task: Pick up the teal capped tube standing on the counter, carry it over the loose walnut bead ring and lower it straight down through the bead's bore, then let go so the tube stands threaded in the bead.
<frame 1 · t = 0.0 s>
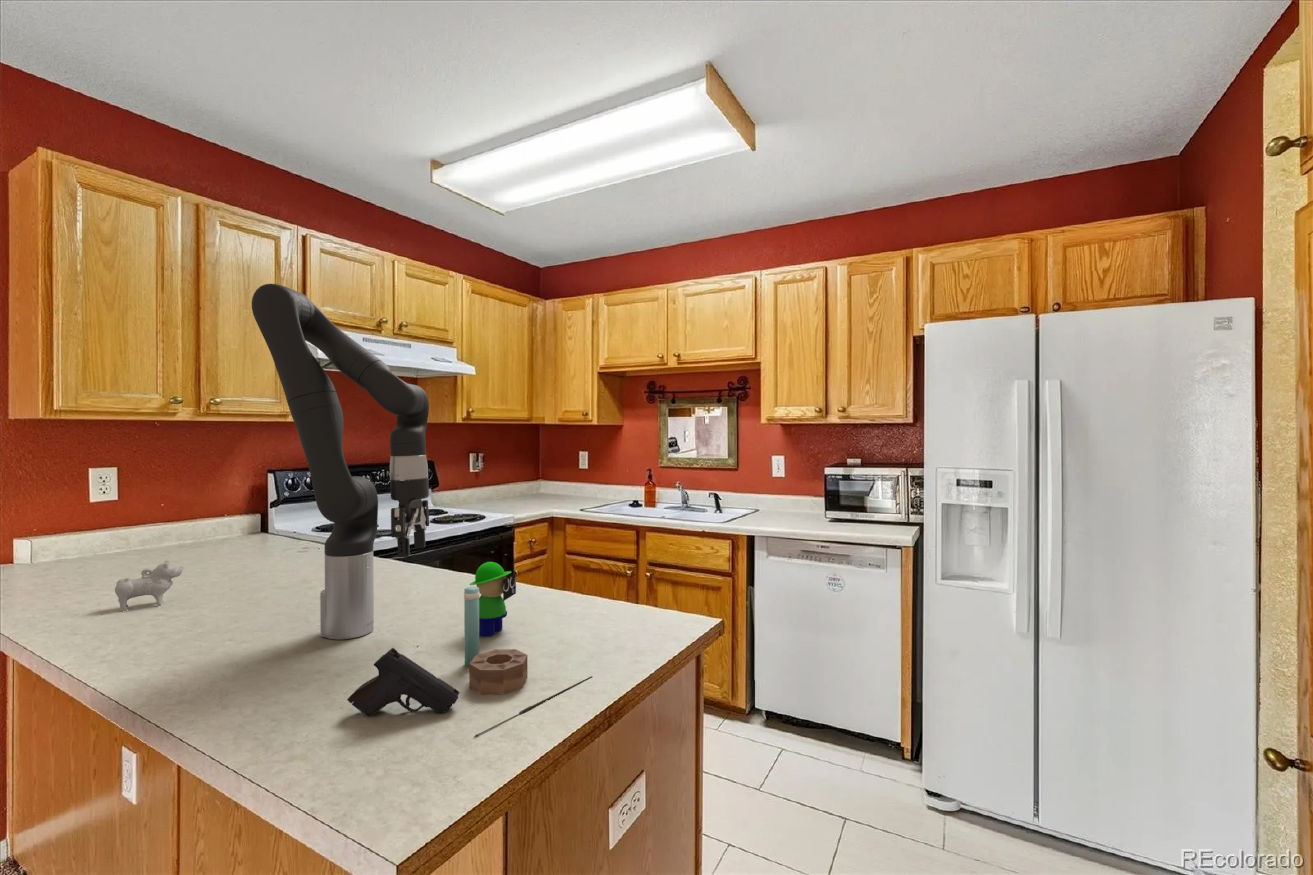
hand: (412, 552, 124), 17 cm above the counter, tool pointing down, fingers open, 8 cm apart
bead: (499, 682, 99), on the counter
toy: (490, 632, 124), on the counter
grey pig charm: (149, 606, 142), on the counter
handgun: (405, 713, 89), on the counter
paintbrush: (539, 706, 91), on the counter
teal capped tube: (471, 663, 107), on the counter
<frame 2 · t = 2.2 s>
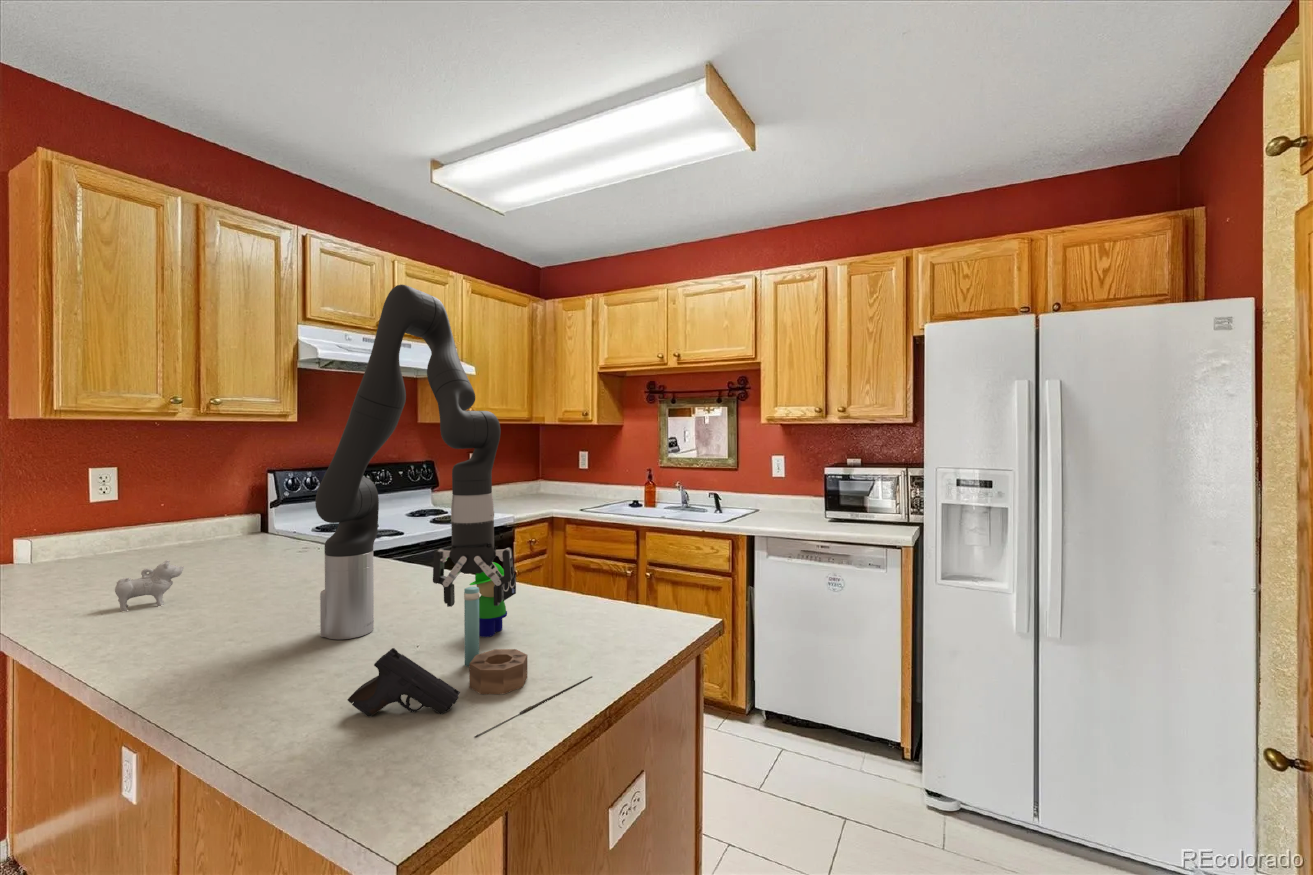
hand: (474, 605, 107), 11 cm above the counter, tool pointing down, fingers open, 8 cm apart
nothing on the counter moved.
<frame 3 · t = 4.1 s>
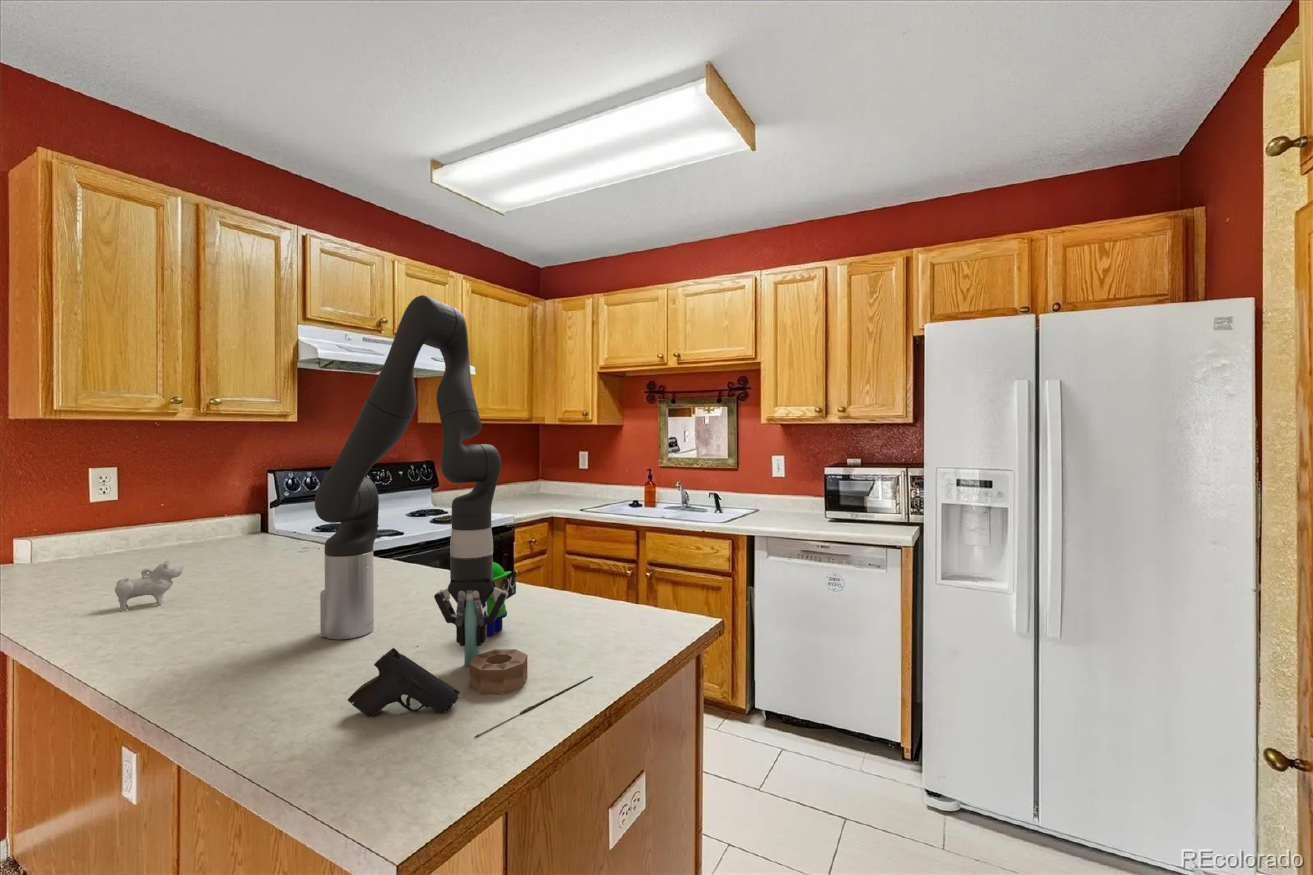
hand: (471, 644, 107), 4 cm above the counter, tool pointing down, fingers closed on teal capped tube, 2 cm apart
teal capped tube: (471, 663, 107), on the counter, touching gripper
everything else where it was.
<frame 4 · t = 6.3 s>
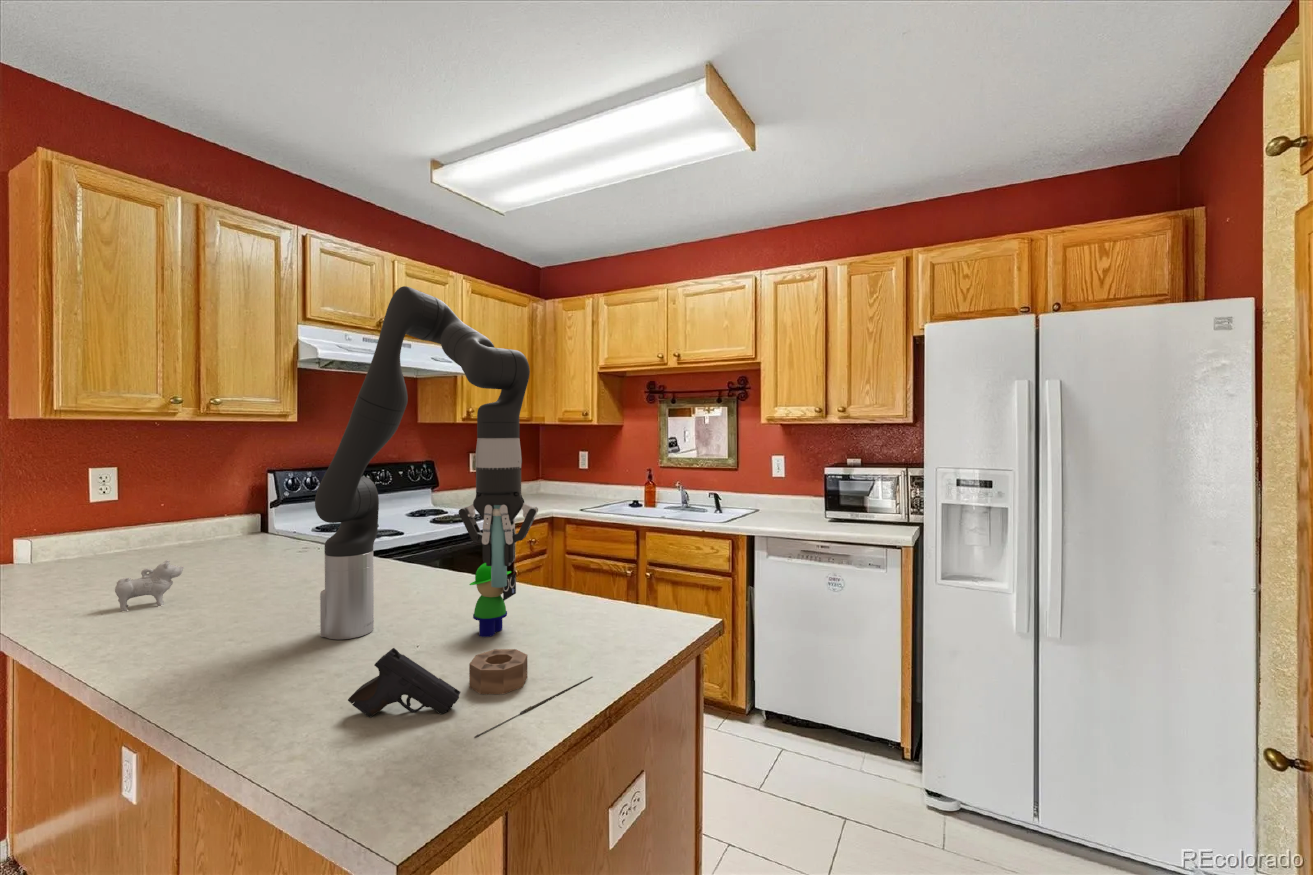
hand: (499, 564, 99), 20 cm above the counter, tool pointing down, fingers closed on teal capped tube, 2 cm apart
teal capped tube: (499, 585, 99), point 17 cm above the counter, touching gripper
everything else where it was.
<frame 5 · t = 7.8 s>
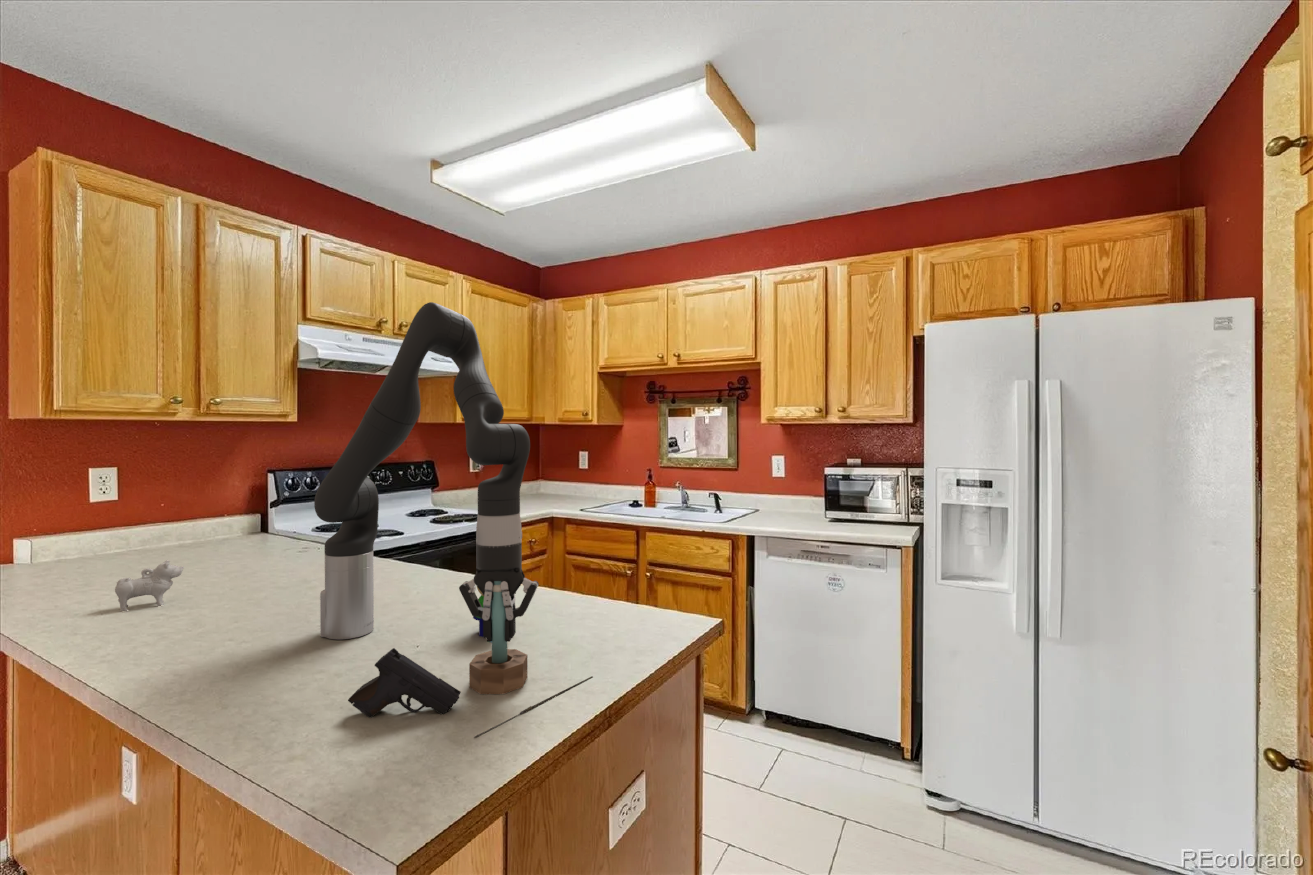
hand: (499, 639, 99), 7 cm above the counter, tool pointing down, fingers closed on teal capped tube, 2 cm apart
teal capped tube: (499, 660, 99), point 4 cm above the counter, touching gripper
everything else where it was.
when the fingers open (5 cm above the counter, at t = 8.9 s): teal capped tube stays where it is, resting in bead.
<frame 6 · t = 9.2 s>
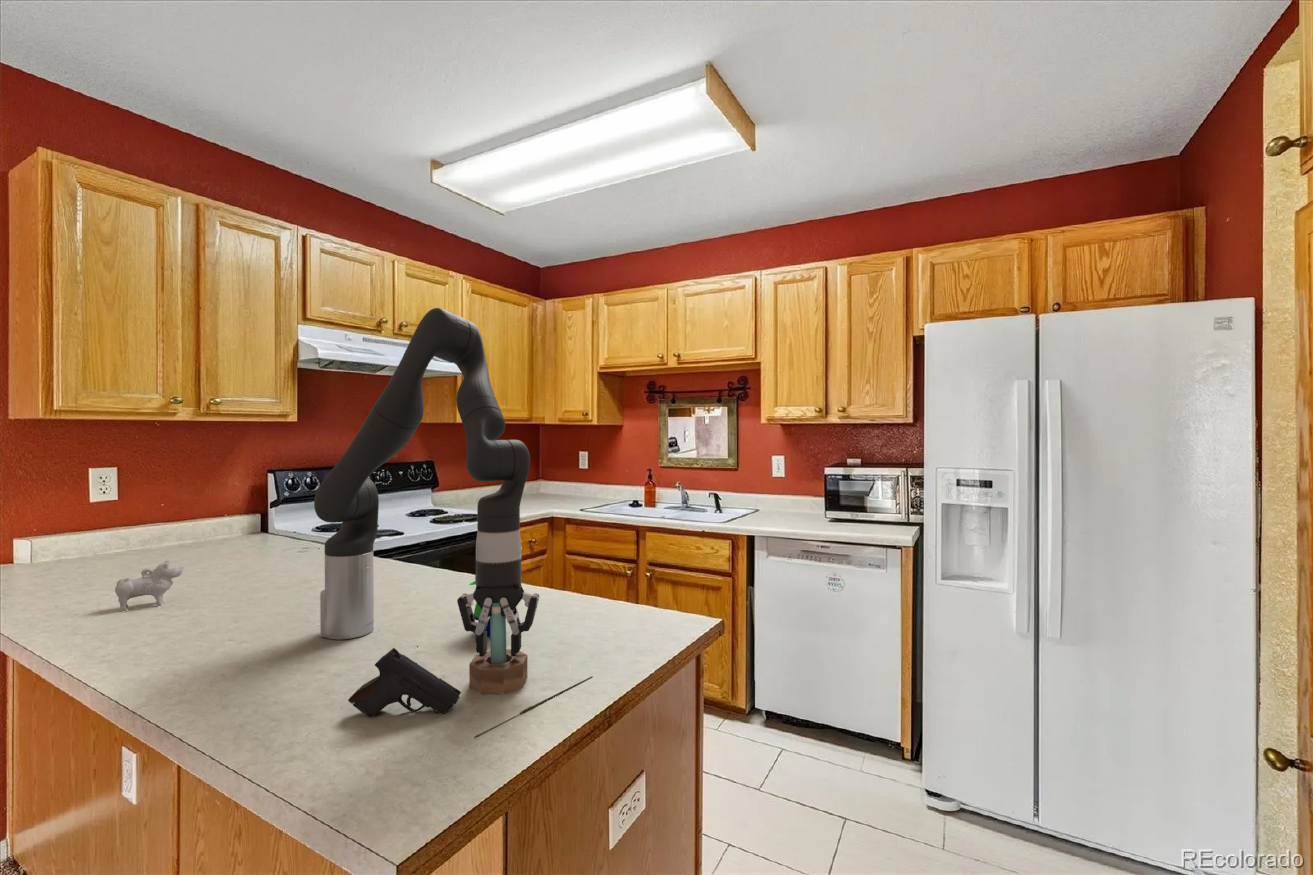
hand: (498, 654, 99), 5 cm above the counter, tool pointing down, fingers open, 4 cm apart
teal capped tube: (498, 682, 99), resting in bead
everything else where it was.
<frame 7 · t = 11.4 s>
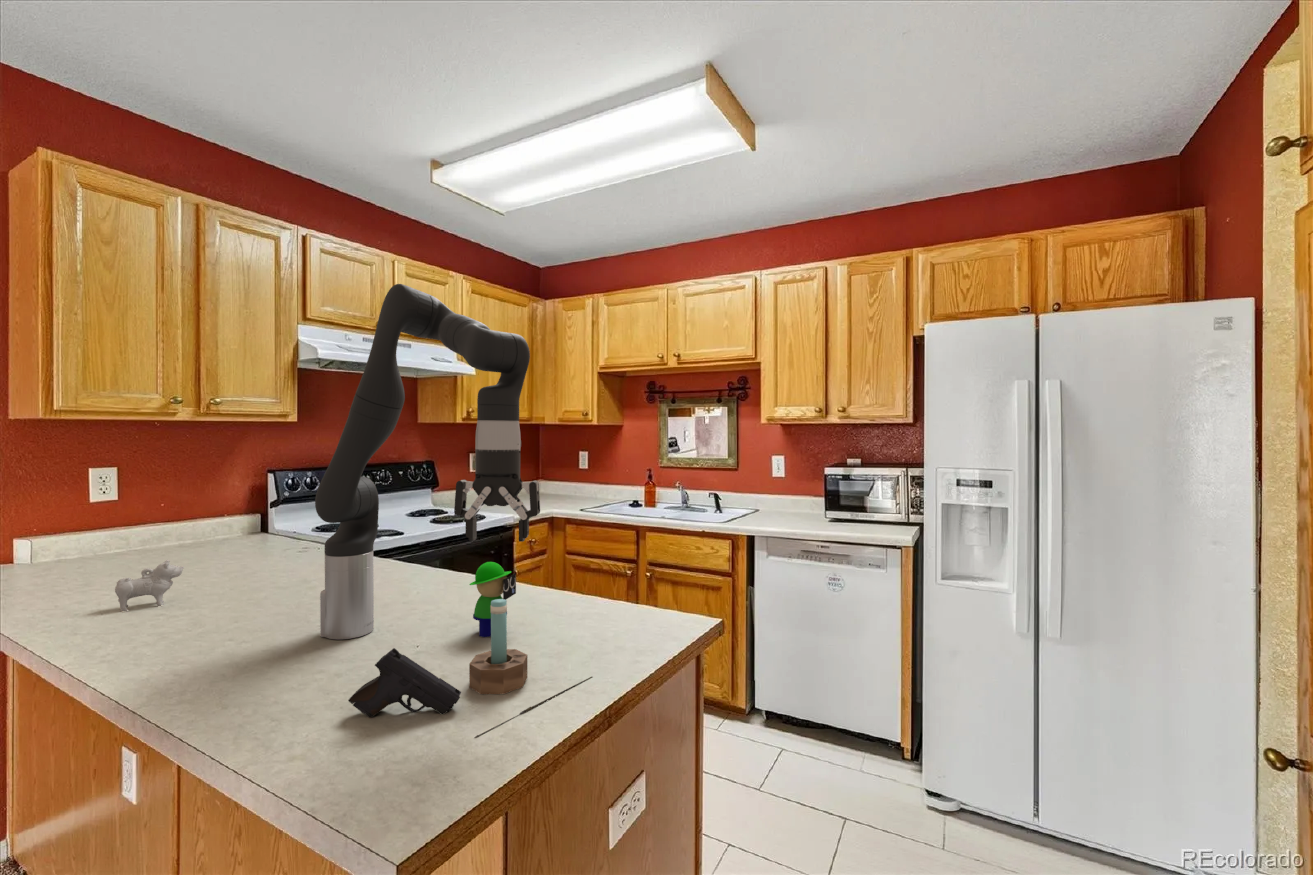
hand: (497, 540, 100), 24 cm above the counter, tool pointing down, fingers open, 8 cm apart
nothing on the counter moved.
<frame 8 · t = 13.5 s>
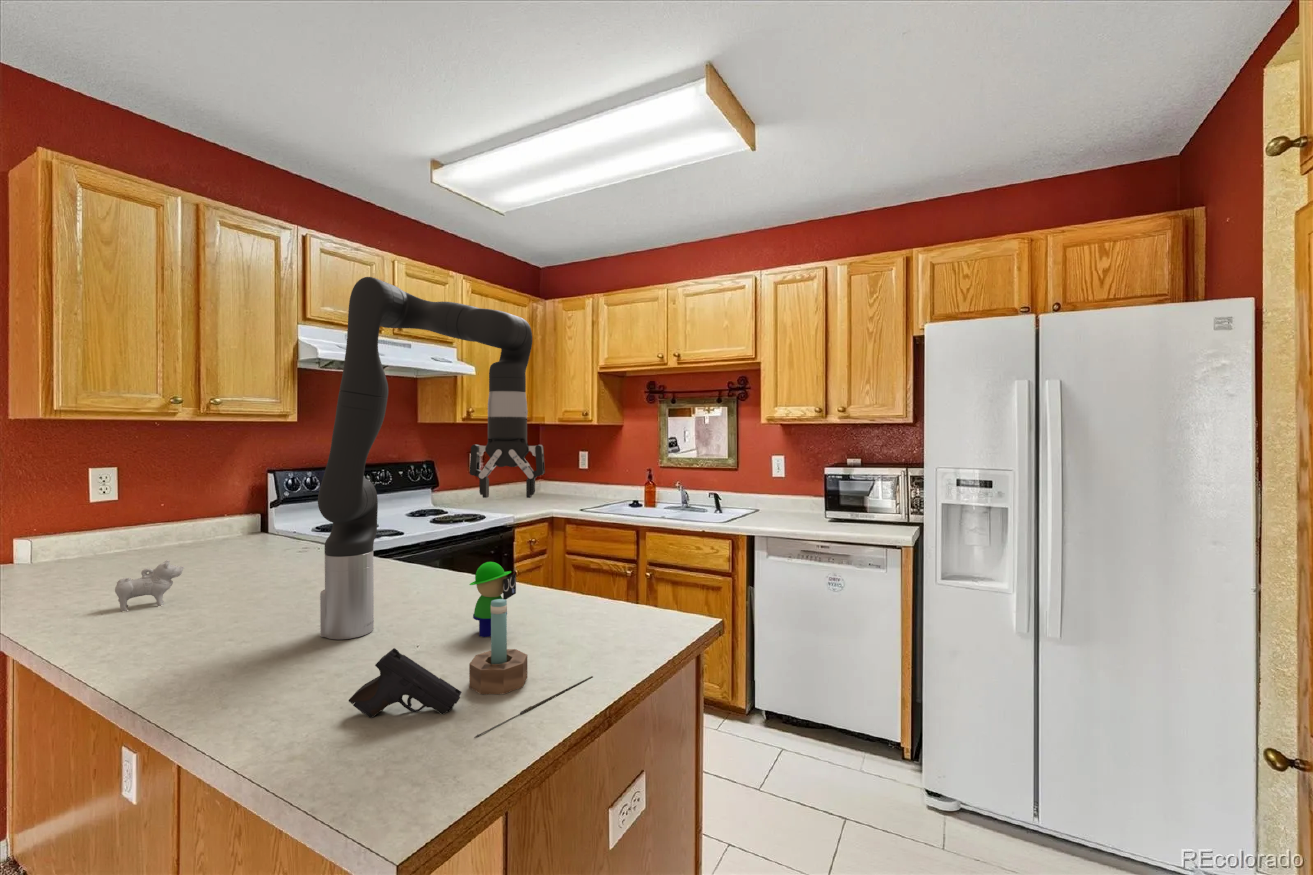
hand: (507, 497, 114), 30 cm above the counter, tool pointing down, fingers open, 8 cm apart
nothing on the counter moved.
at the end: teal capped tube 0.0 cm off-centre on the bead, point 0.0 cm above the bead's base; teal capped tube tilted 0°; the gripper is holding nothing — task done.
